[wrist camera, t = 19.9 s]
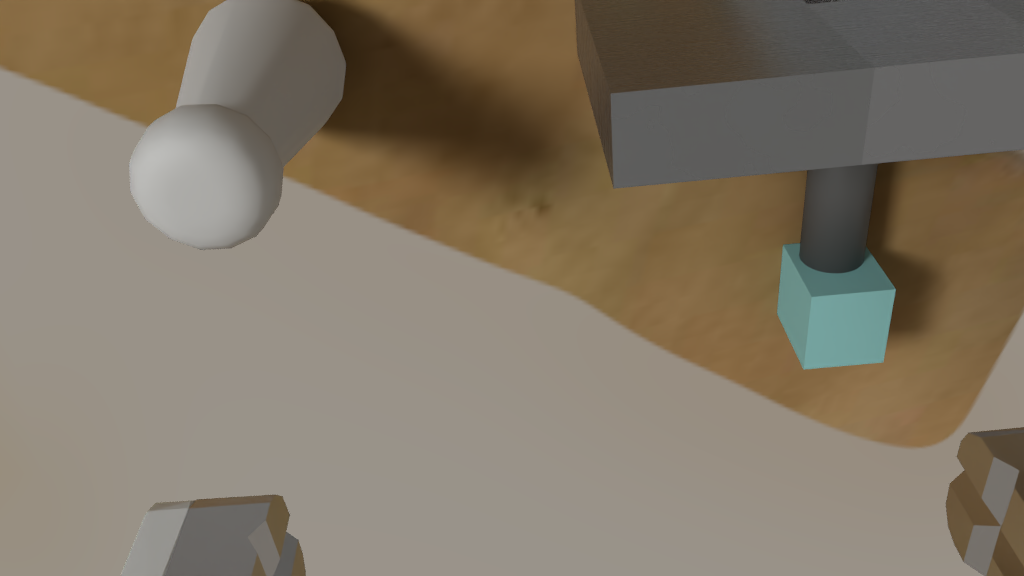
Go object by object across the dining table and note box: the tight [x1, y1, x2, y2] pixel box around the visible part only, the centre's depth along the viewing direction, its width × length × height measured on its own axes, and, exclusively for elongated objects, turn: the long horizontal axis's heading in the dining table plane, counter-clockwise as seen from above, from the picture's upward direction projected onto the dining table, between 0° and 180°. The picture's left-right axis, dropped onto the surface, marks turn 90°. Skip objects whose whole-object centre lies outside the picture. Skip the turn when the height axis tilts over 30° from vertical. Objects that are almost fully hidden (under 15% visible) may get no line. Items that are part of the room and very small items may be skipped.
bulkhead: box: [575, 0, 1024, 188], centre depth 31 cm, size 3×20×12 cm, turn 95°
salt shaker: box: [129, 0, 346, 250], centre depth 31 cm, size 6×6×13 cm
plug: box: [777, 163, 896, 369], centre depth 39 cm, size 13×4×4 cm, turn 5°
